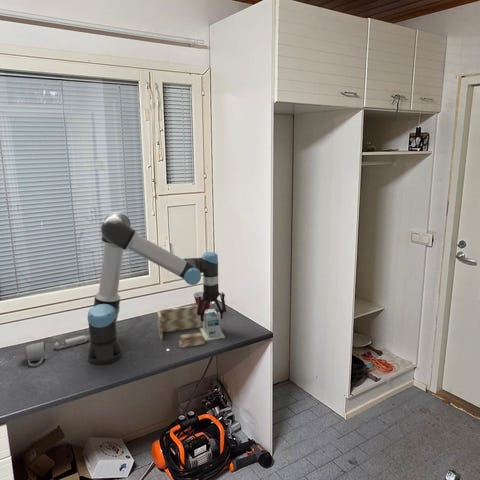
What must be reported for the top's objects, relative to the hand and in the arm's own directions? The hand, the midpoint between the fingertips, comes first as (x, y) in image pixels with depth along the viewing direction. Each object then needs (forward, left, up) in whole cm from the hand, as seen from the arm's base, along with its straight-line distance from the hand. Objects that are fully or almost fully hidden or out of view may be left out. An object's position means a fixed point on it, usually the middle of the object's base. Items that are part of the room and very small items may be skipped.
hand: (211, 325), depth 213 cm
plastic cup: (+1, +26, -4) cm, 26 cm away
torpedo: (-66, +9, -5) cm, 67 cm away
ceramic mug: (-81, -2, -4) cm, 82 cm away
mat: (0, 0, -4) cm, 4 cm away
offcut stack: (-12, -8, -4) cm, 15 cm away
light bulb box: (0, 0, -4) cm, 4 cm away
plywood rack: (-15, +5, -4) cm, 16 cm away
